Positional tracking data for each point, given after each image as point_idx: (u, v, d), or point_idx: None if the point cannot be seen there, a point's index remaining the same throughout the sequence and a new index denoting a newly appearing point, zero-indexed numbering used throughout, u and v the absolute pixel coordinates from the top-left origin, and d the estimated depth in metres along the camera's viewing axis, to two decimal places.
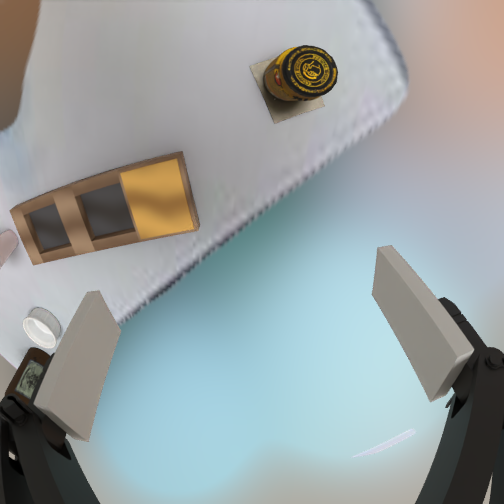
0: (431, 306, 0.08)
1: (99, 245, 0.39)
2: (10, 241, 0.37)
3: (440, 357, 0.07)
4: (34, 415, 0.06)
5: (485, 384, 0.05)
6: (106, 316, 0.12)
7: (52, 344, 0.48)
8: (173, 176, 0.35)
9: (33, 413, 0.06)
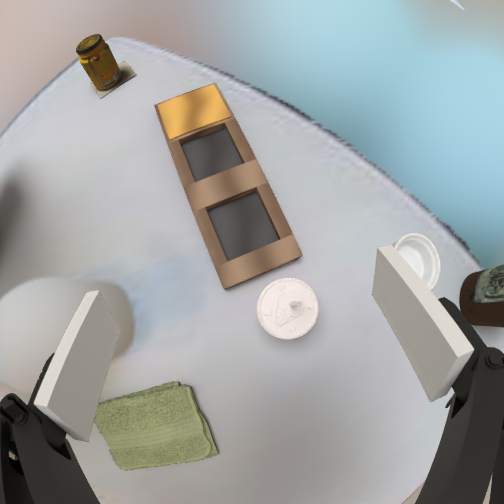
0: (431, 306, 0.08)
1: (247, 154, 0.40)
2: None
3: (440, 357, 0.07)
4: (34, 415, 0.06)
5: (485, 384, 0.05)
6: (106, 316, 0.12)
7: (428, 245, 0.36)
8: (170, 103, 0.41)
9: (33, 413, 0.06)
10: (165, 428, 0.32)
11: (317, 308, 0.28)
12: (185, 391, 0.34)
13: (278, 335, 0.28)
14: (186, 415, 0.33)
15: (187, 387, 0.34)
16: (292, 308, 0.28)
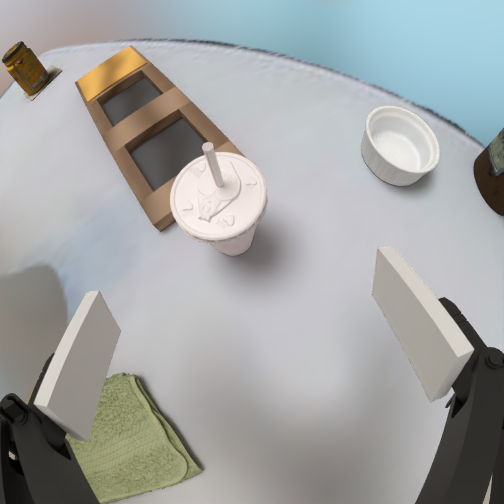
0: (431, 306, 0.08)
1: (166, 85, 0.31)
2: None
3: (440, 357, 0.07)
4: (34, 415, 0.06)
5: (485, 384, 0.05)
6: (106, 316, 0.12)
7: (410, 117, 0.26)
8: (89, 74, 0.33)
9: (33, 413, 0.06)
10: (118, 441, 0.21)
11: (262, 181, 0.18)
12: (128, 382, 0.22)
13: (208, 235, 0.17)
14: (138, 418, 0.21)
15: (131, 376, 0.23)
16: (221, 189, 0.18)
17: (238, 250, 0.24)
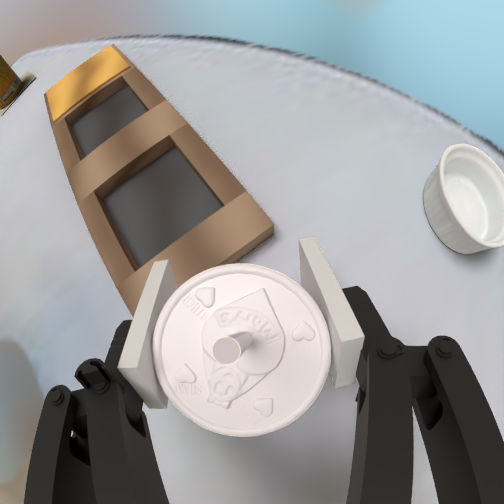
0: (330, 292, 0.10)
1: (153, 98, 0.22)
2: None
3: (333, 342, 0.09)
4: (118, 386, 0.08)
5: (381, 377, 0.07)
6: (173, 285, 0.14)
7: (484, 160, 0.17)
8: (60, 83, 0.24)
9: (117, 383, 0.08)
10: None
11: (325, 333, 0.09)
12: None
13: (228, 430, 0.09)
14: None
15: None
16: (248, 351, 0.09)
17: None
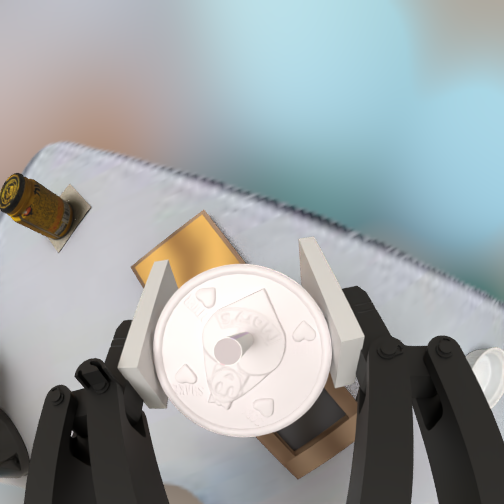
0: (330, 292, 0.10)
1: None
2: None
3: (333, 342, 0.09)
4: (118, 386, 0.08)
5: (381, 377, 0.07)
6: (173, 285, 0.14)
7: (498, 352, 0.25)
8: (152, 262, 0.31)
9: (117, 383, 0.08)
10: None
11: (326, 334, 0.09)
12: None
13: (228, 430, 0.09)
14: None
15: None
16: (249, 352, 0.09)
17: None
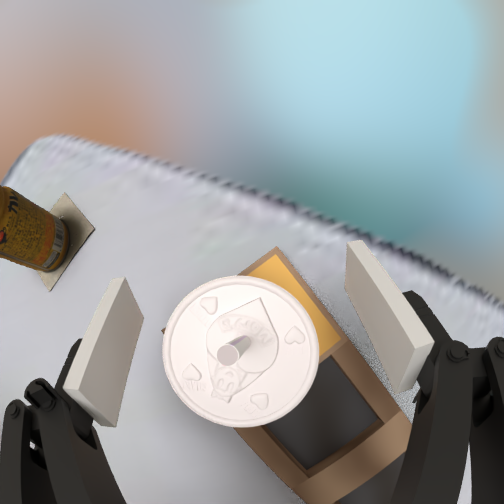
0: (393, 298, 0.09)
1: (387, 407, 0.18)
2: None
3: (400, 348, 0.08)
4: (63, 402, 0.07)
5: (448, 379, 0.06)
6: (131, 302, 0.13)
7: None
8: None
9: (62, 400, 0.07)
10: None
11: (314, 338, 0.11)
12: None
13: (229, 421, 0.10)
14: None
15: None
16: (247, 353, 0.10)
17: None
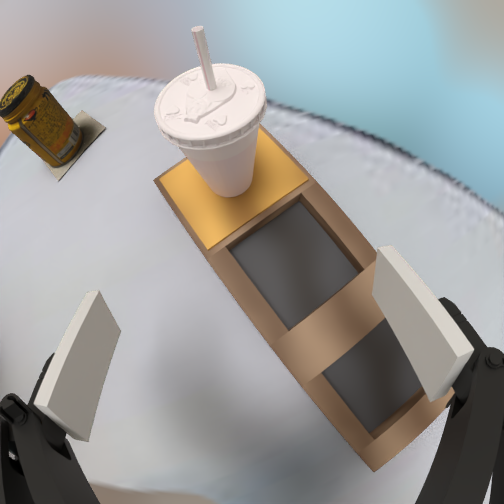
0: (431, 306, 0.08)
1: (363, 250, 0.21)
2: None
3: (440, 357, 0.07)
4: (34, 415, 0.06)
5: (485, 384, 0.05)
6: (106, 316, 0.12)
7: None
8: (184, 171, 0.24)
9: (33, 413, 0.06)
10: None
11: (261, 85, 0.14)
12: None
13: (194, 135, 0.13)
14: None
15: None
16: (213, 91, 0.14)
17: (234, 184, 0.20)
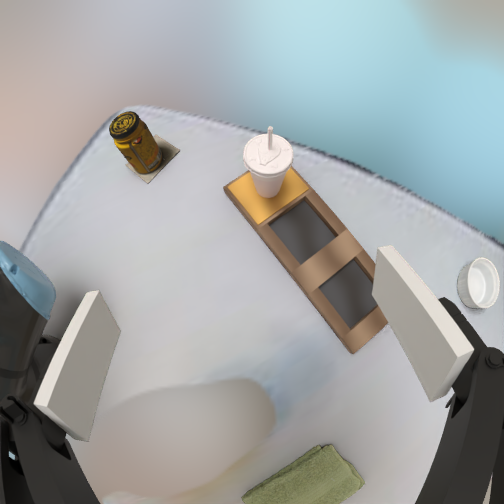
0: (431, 306, 0.08)
1: (338, 225, 0.42)
2: None
3: (440, 357, 0.07)
4: (34, 415, 0.06)
5: (485, 384, 0.05)
6: (106, 316, 0.12)
7: (487, 263, 0.37)
8: (242, 183, 0.44)
9: (33, 413, 0.06)
10: (320, 484, 0.32)
11: (291, 148, 0.34)
12: (330, 450, 0.34)
13: (265, 171, 0.34)
14: (336, 467, 0.33)
15: (330, 446, 0.34)
16: (271, 151, 0.34)
17: (273, 191, 0.41)
